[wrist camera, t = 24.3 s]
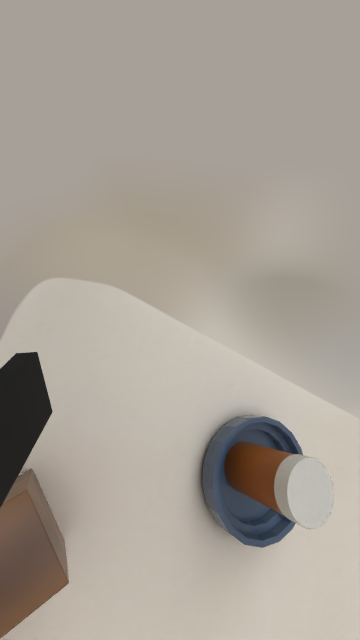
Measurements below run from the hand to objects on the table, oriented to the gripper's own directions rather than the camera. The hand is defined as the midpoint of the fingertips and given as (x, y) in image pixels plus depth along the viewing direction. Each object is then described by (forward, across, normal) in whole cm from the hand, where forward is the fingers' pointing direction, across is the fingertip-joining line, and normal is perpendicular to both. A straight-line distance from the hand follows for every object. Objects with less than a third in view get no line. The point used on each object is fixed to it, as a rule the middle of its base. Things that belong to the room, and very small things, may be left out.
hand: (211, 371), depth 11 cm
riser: (+9, -18, -22) cm, 30 cm away
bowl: (+18, +8, -27) cm, 34 cm away
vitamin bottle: (+18, +7, -26) cm, 32 cm away
